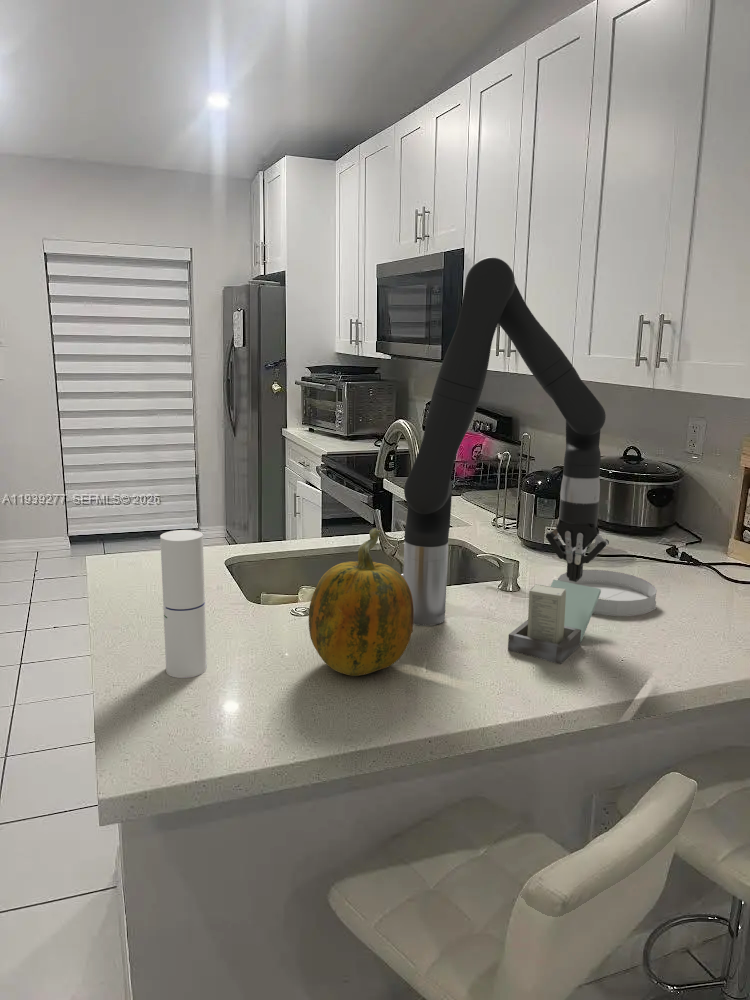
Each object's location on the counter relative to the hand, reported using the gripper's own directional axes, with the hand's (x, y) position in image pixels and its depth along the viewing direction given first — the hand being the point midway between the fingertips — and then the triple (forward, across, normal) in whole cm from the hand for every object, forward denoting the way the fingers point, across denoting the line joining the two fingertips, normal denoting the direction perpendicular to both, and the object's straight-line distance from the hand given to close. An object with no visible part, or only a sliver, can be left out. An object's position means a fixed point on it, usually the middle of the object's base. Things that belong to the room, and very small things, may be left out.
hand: (573, 580), depth 154 cm
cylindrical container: (+10, +50, +59) cm, 78 cm away
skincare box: (+10, 0, +14) cm, 18 cm away
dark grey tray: (+11, 0, +8) cm, 14 cm away
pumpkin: (+11, +25, +40) cm, 49 cm away
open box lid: (+6, 0, +2) cm, 7 cm away
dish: (+12, -1, -21) cm, 24 cm away
